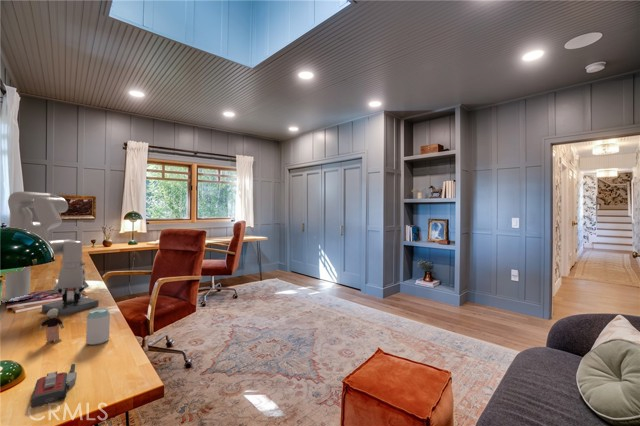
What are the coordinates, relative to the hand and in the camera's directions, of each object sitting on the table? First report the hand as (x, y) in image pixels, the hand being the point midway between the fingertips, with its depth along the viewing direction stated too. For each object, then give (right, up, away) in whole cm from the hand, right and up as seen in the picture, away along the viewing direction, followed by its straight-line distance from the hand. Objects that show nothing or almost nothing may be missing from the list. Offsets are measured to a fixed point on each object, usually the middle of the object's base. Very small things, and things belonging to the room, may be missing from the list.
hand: (71, 301), depth 147 cm
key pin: (0, -3, 0) cm, 3 cm away
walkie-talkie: (+50, -6, -64) cm, 82 cm away
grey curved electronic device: (-11, -4, +16) cm, 20 cm away
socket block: (0, -4, 0) cm, 4 cm away
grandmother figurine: (+24, -5, -37) cm, 45 cm away
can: (+41, -5, -36) cm, 55 cm away
